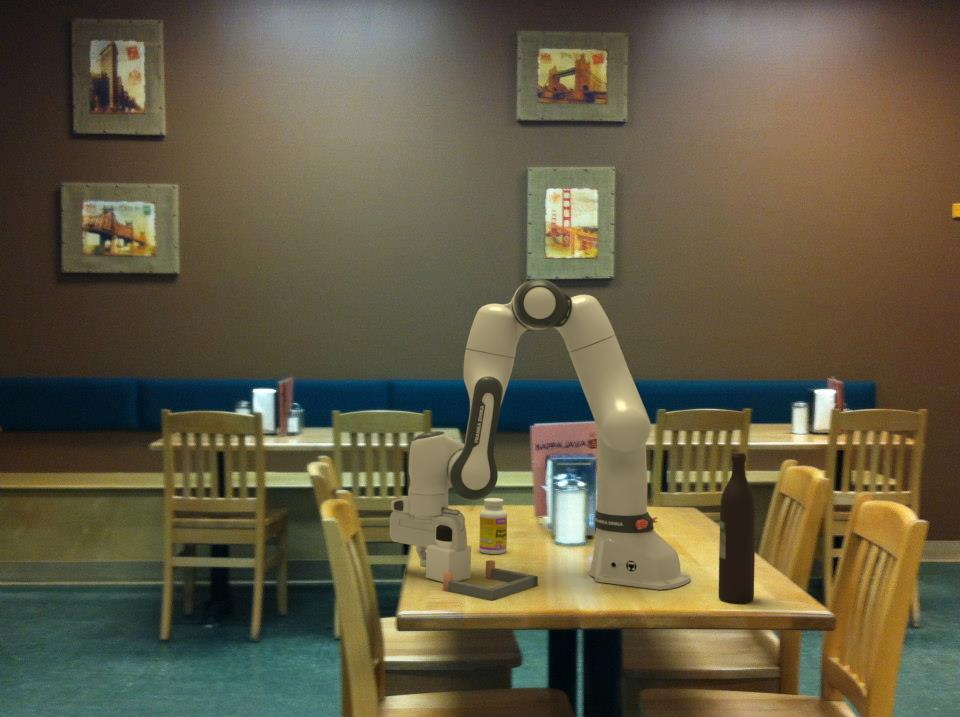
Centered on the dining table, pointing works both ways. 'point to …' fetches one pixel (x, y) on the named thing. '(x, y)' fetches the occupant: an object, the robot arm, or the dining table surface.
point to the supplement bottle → (493, 527)
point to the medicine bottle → (447, 557)
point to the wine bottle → (737, 536)
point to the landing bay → (515, 585)
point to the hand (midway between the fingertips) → (427, 567)
